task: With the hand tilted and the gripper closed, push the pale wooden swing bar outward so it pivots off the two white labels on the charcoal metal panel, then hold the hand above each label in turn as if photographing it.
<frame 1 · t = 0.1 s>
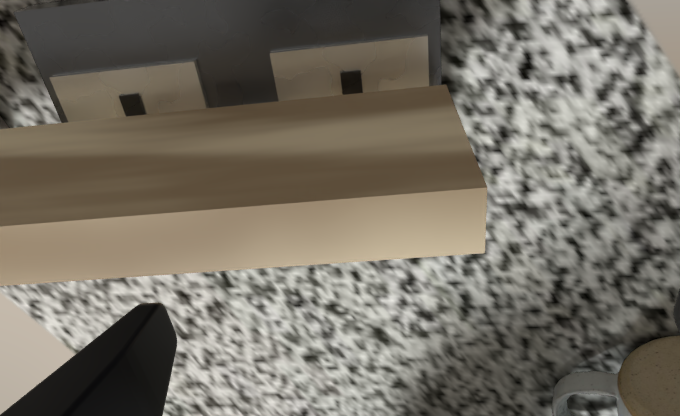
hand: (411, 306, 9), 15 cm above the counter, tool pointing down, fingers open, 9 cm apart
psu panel: (258, 123, 23), on the counter
swing bar: (137, 165, 18), point 5 cm above the counter, hinge at 0.0°
ceramic mug: (638, 378, 31), on the counter
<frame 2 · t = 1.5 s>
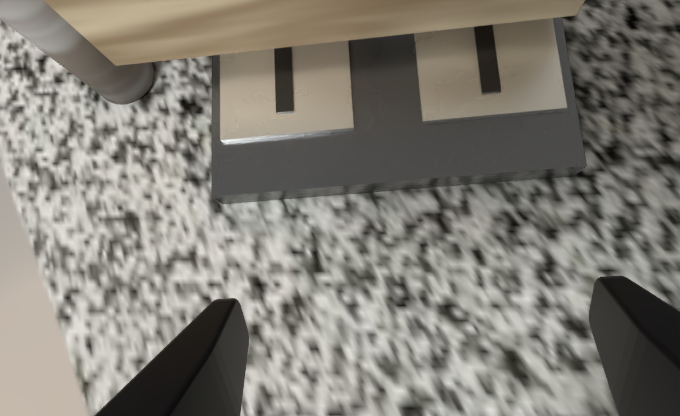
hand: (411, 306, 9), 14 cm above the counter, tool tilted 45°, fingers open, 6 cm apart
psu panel: (383, 70, 25), on the counter
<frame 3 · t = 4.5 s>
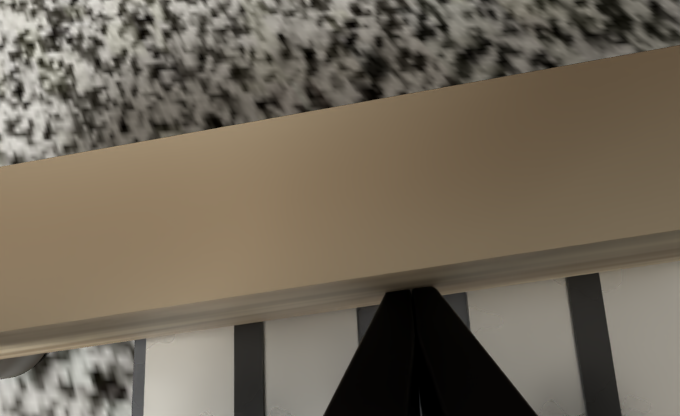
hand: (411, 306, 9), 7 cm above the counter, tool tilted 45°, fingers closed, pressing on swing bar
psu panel: (413, 344, 15), on the counter
swing bar: (256, 269, 11), point 5 cm above the counter, hinge at 5.3°, touching gripper
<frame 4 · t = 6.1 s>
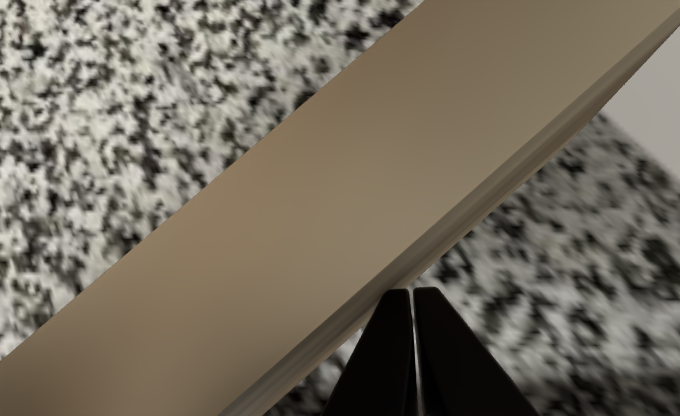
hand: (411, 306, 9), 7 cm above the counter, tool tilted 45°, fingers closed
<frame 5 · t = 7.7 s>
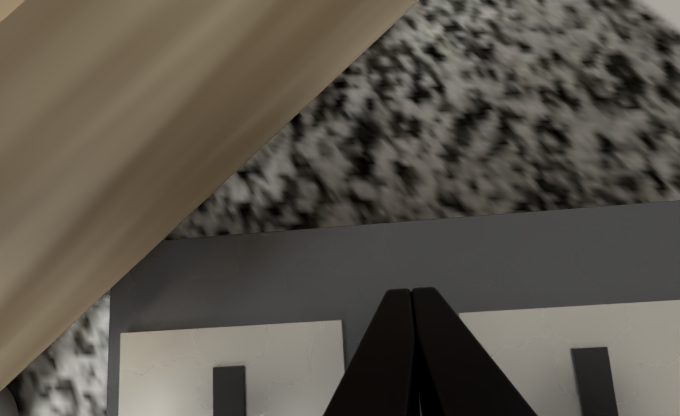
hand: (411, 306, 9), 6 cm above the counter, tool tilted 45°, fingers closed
swing bar: (125, 153, 11), point 5 cm above the counter, hinge at 40.0°
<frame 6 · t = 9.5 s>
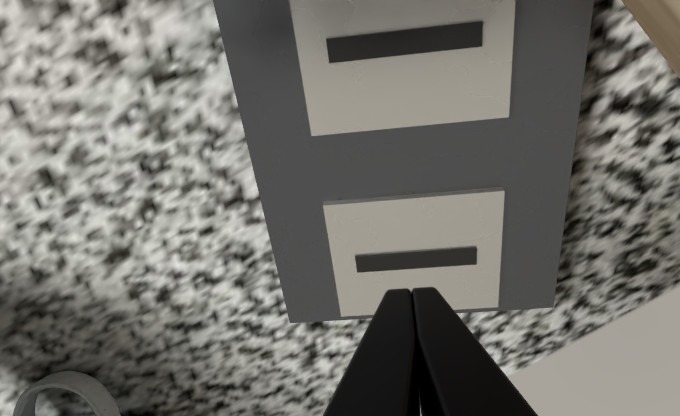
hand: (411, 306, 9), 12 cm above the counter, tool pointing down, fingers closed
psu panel: (407, 143, 21), on the counter
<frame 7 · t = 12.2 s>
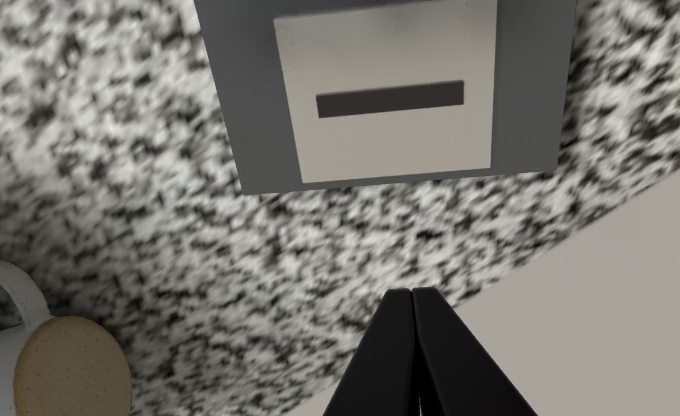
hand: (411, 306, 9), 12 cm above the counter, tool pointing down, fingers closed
ceramic mug: (42, 328, 28), on the counter
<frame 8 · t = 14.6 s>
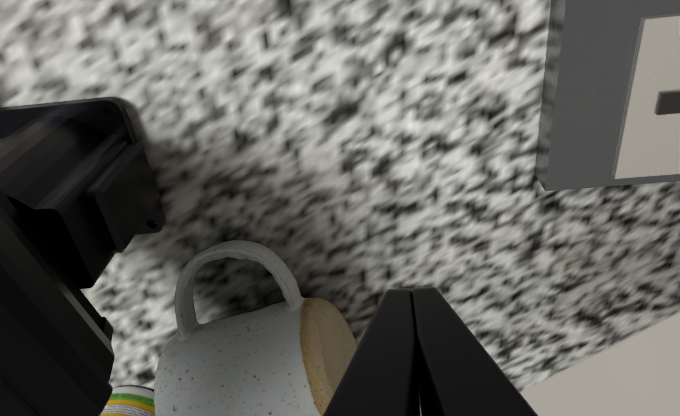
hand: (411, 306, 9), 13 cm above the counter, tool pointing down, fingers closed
supplement bottle: (139, 408, 32), on the counter
ceramic mug: (265, 311, 28), on the counter
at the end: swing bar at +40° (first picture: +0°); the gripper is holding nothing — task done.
